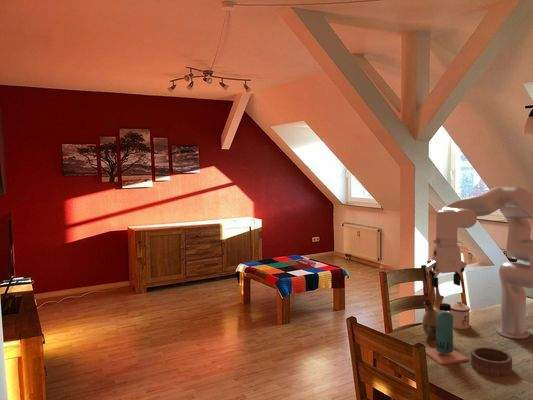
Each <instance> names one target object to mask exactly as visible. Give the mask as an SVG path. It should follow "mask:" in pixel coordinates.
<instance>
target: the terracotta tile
mask: <svg viewBox="0 0 533 400" xmlns="http://www.w3.org/2000/svg"><path fill="white" fill-rule="evenodd" d="M425 349H426V353H427V355H426V356H427V357H429V358H430V359H432V360H434V362H436V363H438V364H439V365H440V366H441V365H442V366H443V365H448V364H455V363H462V362H468V361H469V358H468V357H467V356H465V355H464V354H462V353H460V352H458V351H457V350H455V349H454V348H453V352H452V353H441V352H439V351H437V350H436V347H431V348H425Z"/></svg>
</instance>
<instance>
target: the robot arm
mask: <svg viewBox="0 0 533 400" xmlns="http://www.w3.org/2000/svg"><path fill="white" fill-rule="evenodd" d="M498 210H499V212H501V214H502V215H503V217H504V219H505V220H506V222H507V226H508V227H507V237H506V238H507V239H506V245H505V246H506V247H505V254H506V256H507V257H508V258H510V259H513V260H518V261H523V262H527V263H529V264H526V263H525V264H524V263H520V262H516V261H506V262H503V263H502V264H501V265H500V266H499V268H498V269H499V270H498V276H499V282H500V289H501V290H500V320H499V321H500V326H499V325H498V326H497V327H496V328H495V329H496V330H495V331H496V333H497V334H498V335H501V336H503V337H505V338H510V339H516V340H517V339H518V340H523V339H524V340H525V339H527V338H529V337H530V332H529V331H528V330H529V329H533V323H527V322H526V317H527V316H526V312H527V311H526V310H527V294H526V291H525V288H527V289H531V290H533V239H531V234H532V226H531V223H530V221H529V219H530V220H531V219H532V220H533V193H532V192H530V191H529V190H527V189H525V188H524V187H521V186H507V185H500V186H495V187H493V188H491V189H490V190H487V191H486V192H484V193H481V194H479V195H477V196H473V197H469V198H465V199H460V200H457V201H453V202H450V203H449V204H447V205H445V206H443V207H442V208H441V209H439V210H437V211H436V213H435V239H434V240H433V243H434V244H435V245H434V246H433V251H432V261H431V262H429V263H428V264H427V265H425V271H426V272H427V274H429V276H430V277H431V281H430V282H431V284H432V286H433V287H434V288H435V289H436V288H439V277H438V276H439V274H448V273H453V283H452V284H453V285H456V286H458V287H459V286H461V279H462V278H461V276H463V273H464V271H465V269H466V267H467V266H468V265H467V262H465V261H463V260H462V255H461V249H460V245H458V229H469V228H473V227H474V226H475V225H476V224H477V221H478V217H484V216H488V215H492V214H493V213H494V212H497V211H498ZM431 284H430V285H431Z"/></svg>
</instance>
